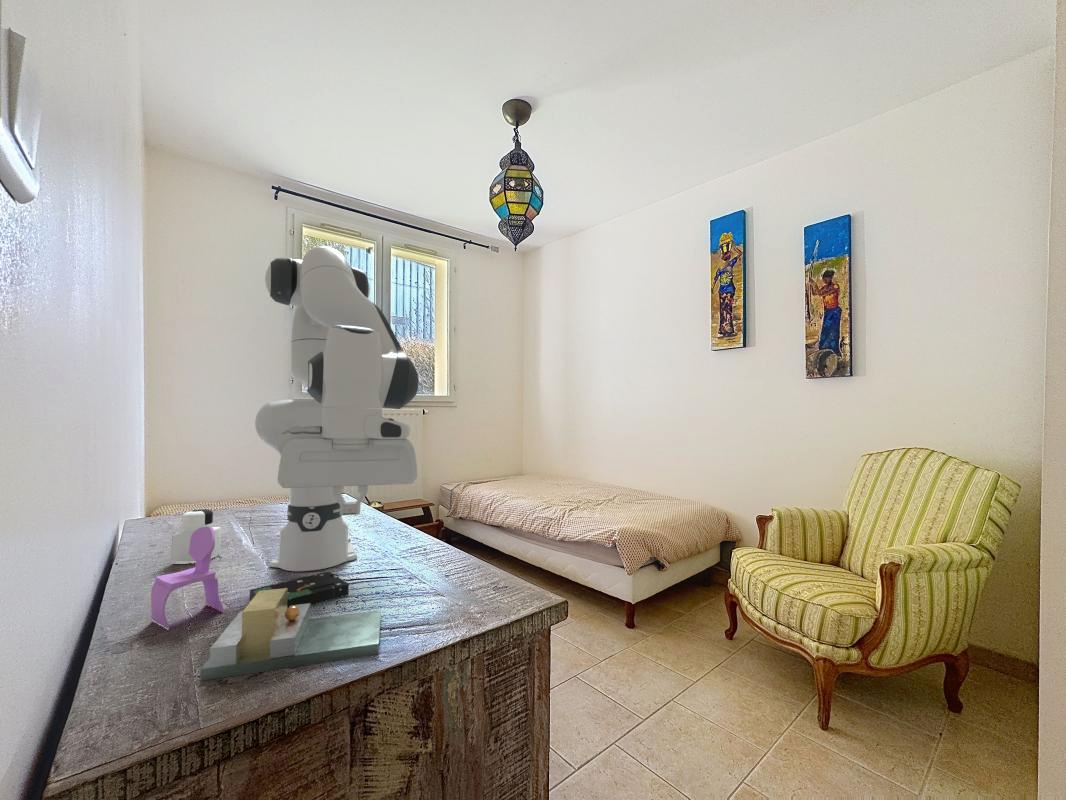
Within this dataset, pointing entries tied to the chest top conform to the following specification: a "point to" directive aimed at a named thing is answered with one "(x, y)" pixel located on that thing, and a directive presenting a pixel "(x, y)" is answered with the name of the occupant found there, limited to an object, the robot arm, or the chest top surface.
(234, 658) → the vise
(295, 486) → the robot arm
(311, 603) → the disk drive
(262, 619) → the brass block
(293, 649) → the sliding jaw
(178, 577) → the toy chair
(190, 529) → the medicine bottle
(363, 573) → the chest top surface
